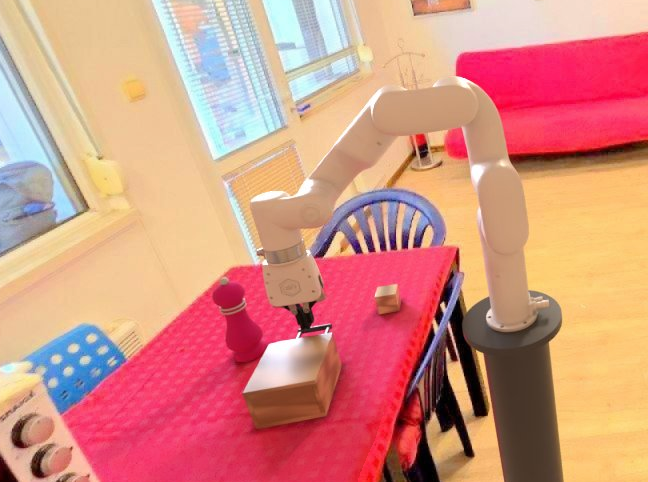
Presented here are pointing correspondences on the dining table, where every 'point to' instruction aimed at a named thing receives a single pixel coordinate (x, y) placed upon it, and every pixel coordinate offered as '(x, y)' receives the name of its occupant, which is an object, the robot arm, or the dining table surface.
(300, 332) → the drawer
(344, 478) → the dining table surface
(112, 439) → the dining table surface
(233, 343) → the pepper mill
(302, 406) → the cabinet
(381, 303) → the block
